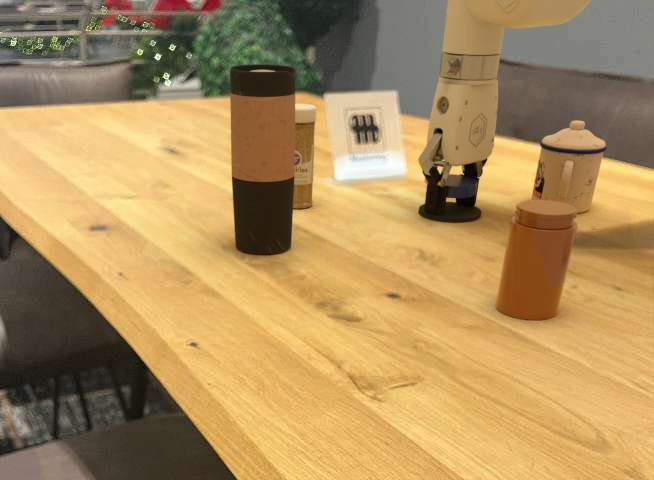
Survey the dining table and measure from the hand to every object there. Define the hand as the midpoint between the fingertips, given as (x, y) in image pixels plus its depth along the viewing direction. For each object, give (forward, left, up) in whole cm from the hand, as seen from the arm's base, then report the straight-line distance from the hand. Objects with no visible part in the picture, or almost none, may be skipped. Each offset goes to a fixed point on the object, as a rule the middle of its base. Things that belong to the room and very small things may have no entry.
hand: (449, 208), depth 111 cm
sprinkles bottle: (+22, -4, -1) cm, 22 cm away
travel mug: (+27, +16, -1) cm, 31 cm away
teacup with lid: (-17, -3, -1) cm, 17 cm away
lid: (0, 0, +4) cm, 4 cm away
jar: (-1, +37, -1) cm, 37 cm away
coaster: (0, 0, -1) cm, 1 cm away
